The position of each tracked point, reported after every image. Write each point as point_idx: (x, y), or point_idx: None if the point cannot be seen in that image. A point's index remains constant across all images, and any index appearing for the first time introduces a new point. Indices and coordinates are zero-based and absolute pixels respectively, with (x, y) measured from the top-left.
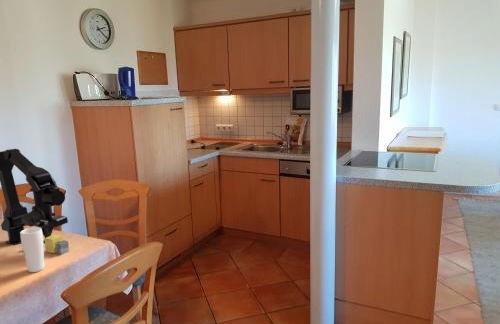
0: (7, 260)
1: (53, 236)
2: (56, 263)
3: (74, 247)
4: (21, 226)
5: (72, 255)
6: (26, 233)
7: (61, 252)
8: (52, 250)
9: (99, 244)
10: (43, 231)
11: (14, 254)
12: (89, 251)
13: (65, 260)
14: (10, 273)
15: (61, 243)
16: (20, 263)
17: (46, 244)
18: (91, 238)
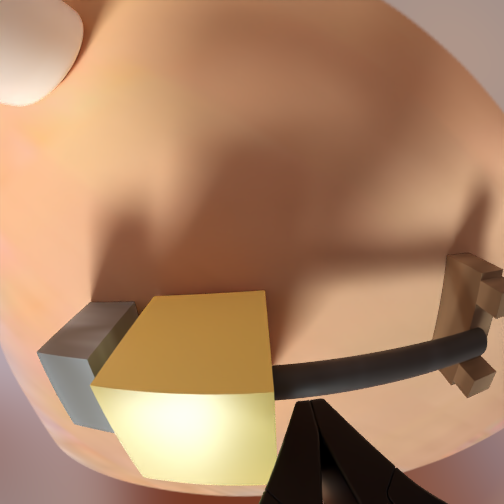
0: (425, 46)
1: (211, 460)
2: (7, 186)
3: None
4: None
5: (35, 320)
6: None
7: (80, 313)
8: (161, 306)
9: (83, 450)
10: (352, 497)
11: (479, 148)
12: (31, 383)
13: (4, 246)
14: None
15: (51, 373)
16: (263, 27)
17: (240, 334)
18: (194, 491)
